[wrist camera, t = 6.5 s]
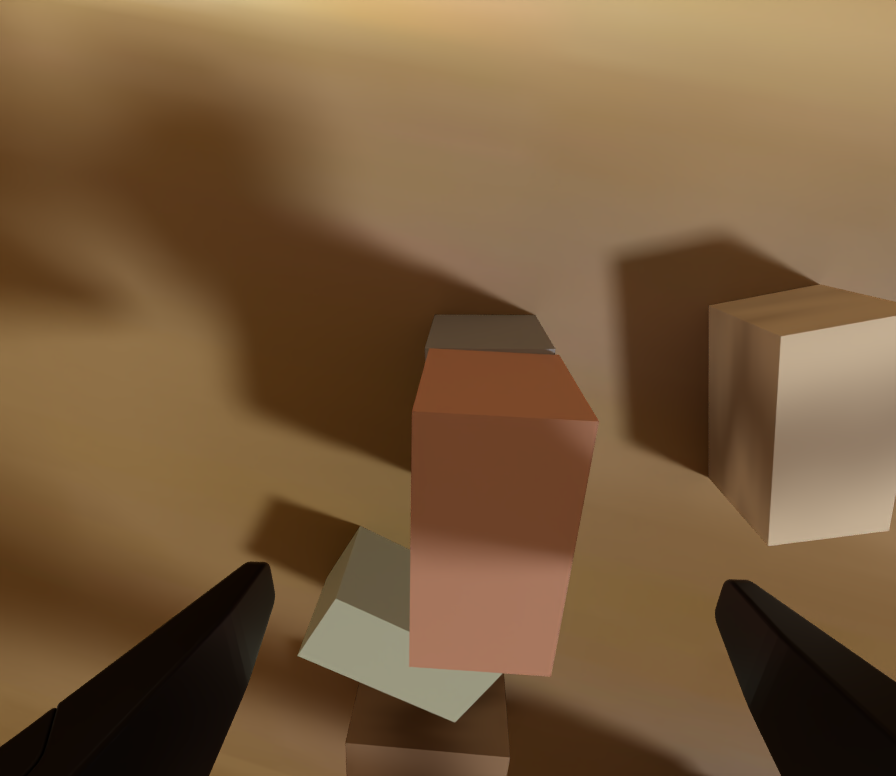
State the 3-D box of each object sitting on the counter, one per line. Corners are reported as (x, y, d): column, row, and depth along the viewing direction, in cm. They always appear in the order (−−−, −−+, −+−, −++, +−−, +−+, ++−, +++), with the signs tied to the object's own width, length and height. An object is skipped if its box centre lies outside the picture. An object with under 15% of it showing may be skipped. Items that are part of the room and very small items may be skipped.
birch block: (800, 461, 18) (888, 530, 14) (706, 475, 18) (767, 545, 14) (816, 283, 15) (929, 310, 11) (706, 304, 15) (780, 336, 12)
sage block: (496, 589, 21) (502, 674, 17) (457, 634, 22) (454, 722, 18) (360, 523, 20) (335, 598, 16) (327, 575, 21) (297, 655, 17)
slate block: (523, 483, 18) (537, 554, 15) (438, 481, 19) (430, 551, 15) (534, 314, 16) (555, 349, 12) (434, 314, 16) (424, 348, 12)
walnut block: (503, 667, 23) (510, 757, 19) (496, 712, 24) (501, 804, 20) (365, 655, 23) (345, 742, 19) (365, 701, 24) (347, 790, 20)
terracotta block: (530, 558, 15) (550, 676, 11) (424, 551, 15) (409, 667, 11) (559, 354, 12) (599, 421, 8) (429, 348, 12) (411, 411, 8)
